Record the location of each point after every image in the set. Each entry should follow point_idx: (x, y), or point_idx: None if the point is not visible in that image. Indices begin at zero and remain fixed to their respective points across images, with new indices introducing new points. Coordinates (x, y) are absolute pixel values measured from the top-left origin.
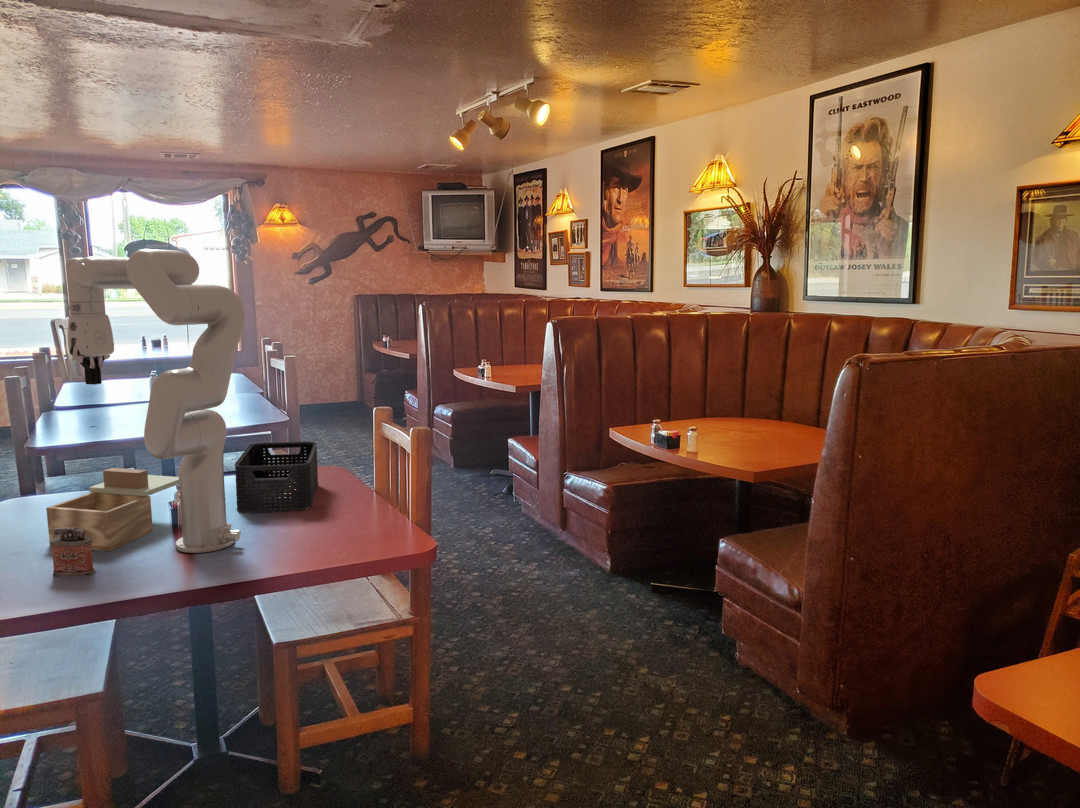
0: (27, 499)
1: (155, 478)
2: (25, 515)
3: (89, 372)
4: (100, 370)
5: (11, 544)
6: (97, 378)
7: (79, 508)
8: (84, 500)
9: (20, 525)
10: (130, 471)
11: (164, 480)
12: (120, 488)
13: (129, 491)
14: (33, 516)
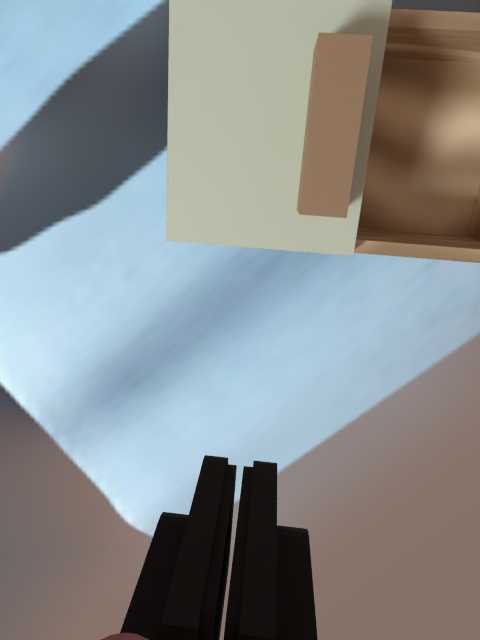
0: (154, 519)
1: (208, 100)
2: (260, 449)
3: (315, 636)
4: (174, 580)
5: (462, 338)
6: (256, 502)
7: (402, 239)
8: (385, 240)
9: (329, 411)
10: (349, 93)
11: (228, 42)
12: (359, 135)
13: (378, 84)
14: (264, 429)
